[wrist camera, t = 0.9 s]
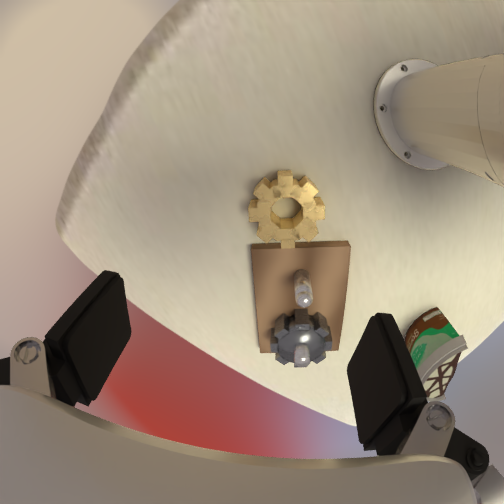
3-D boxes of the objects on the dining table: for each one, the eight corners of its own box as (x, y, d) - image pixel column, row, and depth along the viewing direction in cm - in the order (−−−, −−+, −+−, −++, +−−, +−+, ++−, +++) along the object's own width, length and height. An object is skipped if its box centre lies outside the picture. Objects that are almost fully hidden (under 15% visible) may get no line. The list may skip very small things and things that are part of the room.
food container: (402, 307, 35) (427, 358, 26) (439, 299, 34) (469, 345, 25) (393, 364, 40) (409, 412, 31) (425, 356, 39) (444, 401, 30)
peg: (309, 268, 32) (314, 296, 27) (309, 282, 32) (313, 310, 27) (293, 269, 32) (295, 296, 27) (293, 282, 32) (295, 311, 28)
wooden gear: (319, 169, 28) (324, 175, 25) (320, 235, 31) (323, 247, 28) (248, 172, 29) (245, 178, 26) (254, 237, 32) (251, 249, 29)
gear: (331, 307, 34) (338, 337, 29) (326, 350, 37) (330, 380, 32) (270, 309, 34) (268, 340, 30) (272, 351, 38) (270, 382, 33)
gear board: (347, 240, 31) (350, 246, 30) (336, 343, 38) (338, 350, 37) (252, 243, 32) (250, 249, 31) (260, 345, 39) (260, 352, 38)
